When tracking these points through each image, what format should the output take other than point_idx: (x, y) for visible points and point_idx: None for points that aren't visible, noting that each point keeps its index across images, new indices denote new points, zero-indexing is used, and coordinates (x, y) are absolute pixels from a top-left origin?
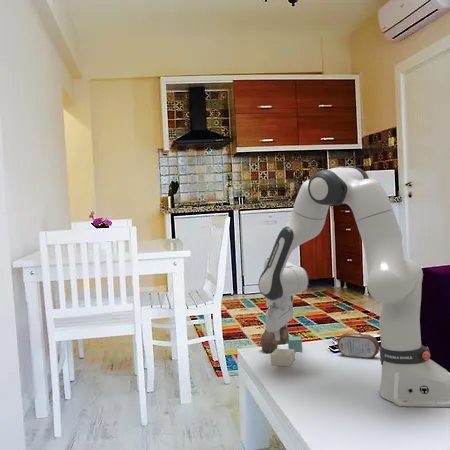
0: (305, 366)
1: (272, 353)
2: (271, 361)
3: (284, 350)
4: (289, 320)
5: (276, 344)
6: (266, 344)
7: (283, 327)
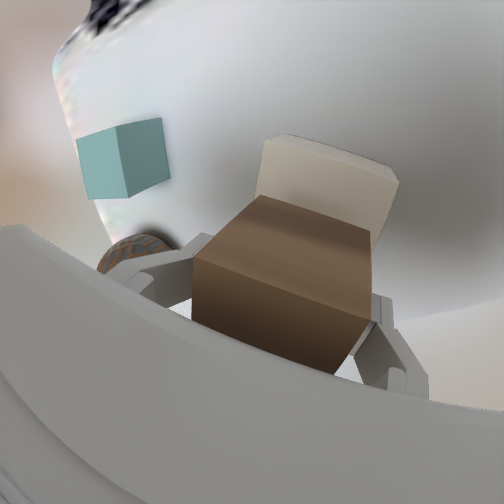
0: (396, 80)
1: None
2: None
3: None
4: (59, 254)
5: (145, 244)
6: None
7: (198, 306)
